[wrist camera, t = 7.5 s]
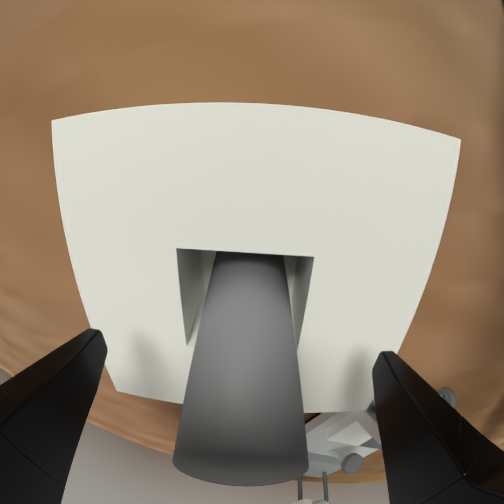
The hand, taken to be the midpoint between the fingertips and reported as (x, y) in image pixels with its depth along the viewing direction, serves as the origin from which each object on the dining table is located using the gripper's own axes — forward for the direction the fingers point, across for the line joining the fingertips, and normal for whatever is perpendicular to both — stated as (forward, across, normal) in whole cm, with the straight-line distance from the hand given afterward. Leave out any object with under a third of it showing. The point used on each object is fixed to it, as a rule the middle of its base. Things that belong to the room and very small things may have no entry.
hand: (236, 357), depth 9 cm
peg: (+6, 0, 0) cm, 6 cm away
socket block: (+8, 0, 0) cm, 8 cm away
